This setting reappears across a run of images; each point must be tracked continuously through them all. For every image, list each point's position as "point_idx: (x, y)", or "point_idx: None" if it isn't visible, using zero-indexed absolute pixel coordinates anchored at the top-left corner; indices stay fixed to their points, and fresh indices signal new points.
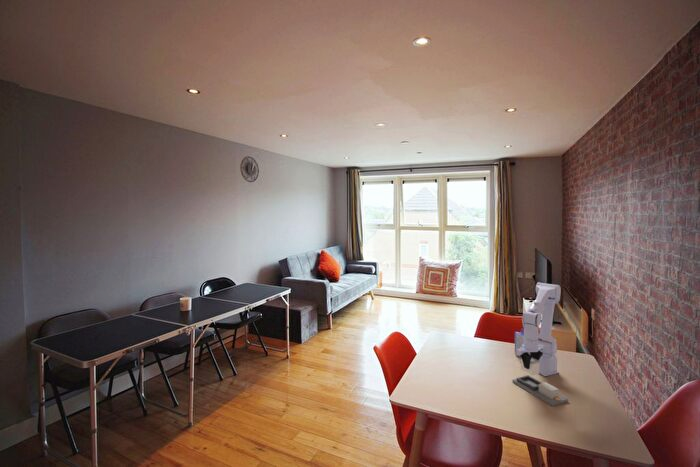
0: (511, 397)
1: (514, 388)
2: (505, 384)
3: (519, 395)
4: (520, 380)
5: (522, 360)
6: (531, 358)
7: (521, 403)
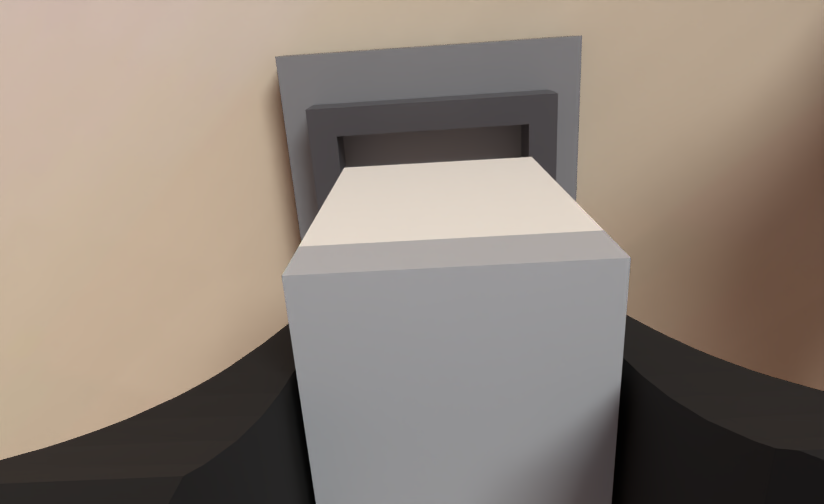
0: (43, 331)
1: (200, 197)
2: (143, 77)
3: (159, 328)
4: (316, 180)
5: (228, 374)
6: (508, 488)
7: (85, 434)
